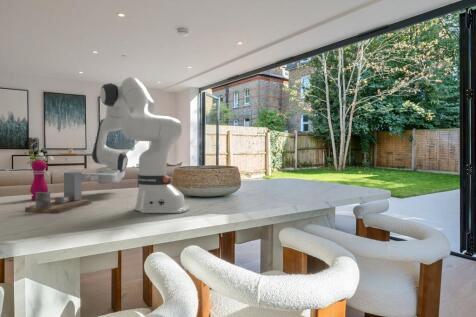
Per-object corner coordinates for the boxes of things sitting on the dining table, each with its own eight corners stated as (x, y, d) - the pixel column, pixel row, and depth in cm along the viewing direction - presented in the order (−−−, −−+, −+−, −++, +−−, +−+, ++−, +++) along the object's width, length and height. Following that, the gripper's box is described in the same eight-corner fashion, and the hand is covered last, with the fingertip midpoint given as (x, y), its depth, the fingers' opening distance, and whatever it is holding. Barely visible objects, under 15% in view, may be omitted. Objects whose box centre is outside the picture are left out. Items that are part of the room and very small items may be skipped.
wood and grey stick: (64, 202, 137) (64, 197, 137) (61, 203, 136) (61, 197, 136) (44, 202, 138) (44, 196, 138) (41, 202, 137) (41, 196, 137)
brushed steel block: (81, 199, 147) (81, 172, 147) (67, 202, 138) (67, 174, 137) (71, 198, 148) (71, 172, 148) (56, 202, 138) (56, 173, 138)
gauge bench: (91, 203, 147) (91, 186, 147) (58, 213, 126) (58, 193, 125) (62, 202, 149) (62, 185, 149) (25, 211, 128) (25, 192, 127)
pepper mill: (39, 201, 151) (39, 157, 150) (26, 200, 152) (26, 157, 152) (51, 198, 158) (51, 156, 157) (38, 197, 160) (38, 156, 159)
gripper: (85, 168, 172) (68, 171, 158) (122, 170, 169) (108, 172, 156) (85, 180, 172) (68, 184, 159) (122, 182, 170) (108, 186, 156)
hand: (88, 178), depth 157 cm, fingers closed
